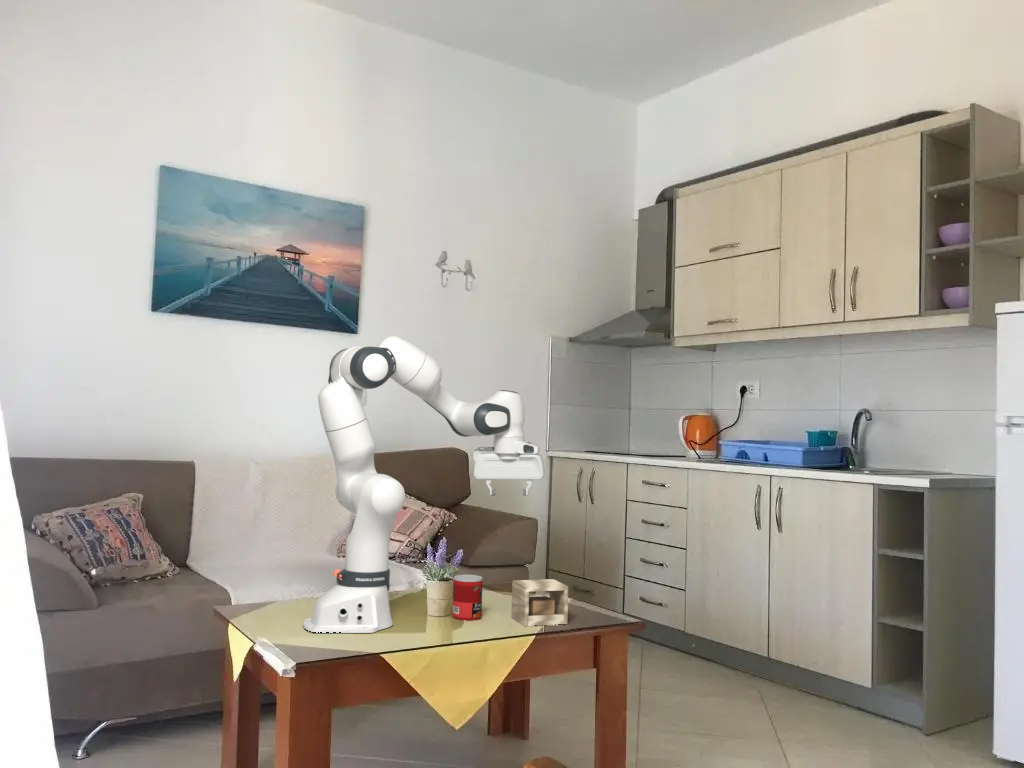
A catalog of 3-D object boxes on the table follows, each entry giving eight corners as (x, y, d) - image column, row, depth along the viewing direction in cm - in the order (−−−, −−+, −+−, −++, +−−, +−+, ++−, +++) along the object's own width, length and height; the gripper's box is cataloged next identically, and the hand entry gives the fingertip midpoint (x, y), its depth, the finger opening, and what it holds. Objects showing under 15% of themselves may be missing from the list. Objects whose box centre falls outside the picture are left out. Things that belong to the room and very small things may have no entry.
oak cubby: (524, 626, 222) (525, 587, 223) (511, 617, 233) (512, 580, 233) (567, 624, 226) (568, 586, 227) (552, 615, 236) (553, 579, 237)
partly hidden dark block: (532, 624, 225) (533, 601, 225) (509, 609, 244) (510, 587, 244) (554, 623, 227) (554, 600, 227) (529, 608, 245) (530, 587, 246)
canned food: (477, 622, 226) (479, 580, 227) (448, 619, 228) (450, 578, 229) (484, 616, 234) (485, 575, 234) (456, 614, 235) (457, 573, 236)
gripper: (471, 447, 242) (471, 496, 242) (543, 447, 240) (543, 496, 240) (474, 446, 249) (474, 494, 248) (544, 446, 246) (545, 494, 246)
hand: (509, 495), depth 244 cm, fingers open, 8 cm apart
